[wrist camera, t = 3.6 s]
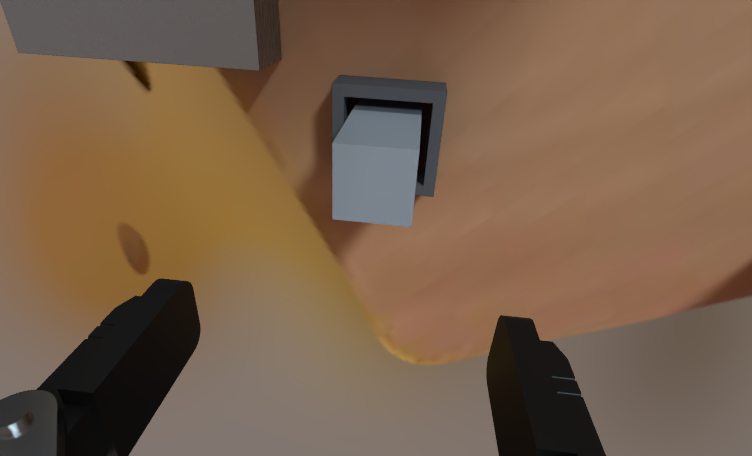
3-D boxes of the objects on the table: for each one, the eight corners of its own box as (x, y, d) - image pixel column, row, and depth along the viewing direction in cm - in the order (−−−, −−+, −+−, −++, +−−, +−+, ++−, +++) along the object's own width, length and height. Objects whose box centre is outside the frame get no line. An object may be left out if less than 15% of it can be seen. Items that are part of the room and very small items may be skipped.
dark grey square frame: (445, 82, 26) (446, 91, 24) (433, 181, 30) (433, 196, 27) (339, 75, 27) (331, 83, 25) (339, 172, 30) (332, 187, 28)
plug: (422, 102, 27) (419, 150, 19) (416, 161, 29) (411, 226, 21) (359, 97, 27) (332, 142, 20) (357, 156, 29) (332, 219, 22)
